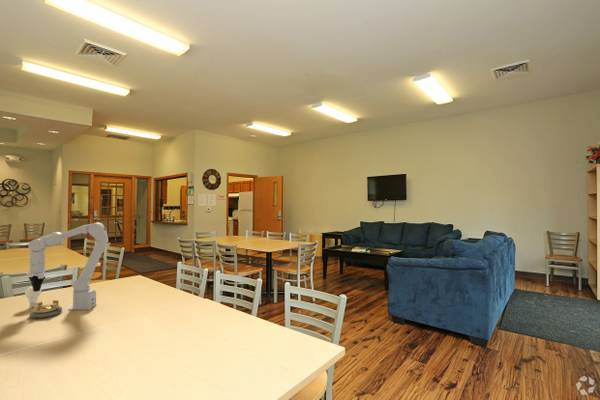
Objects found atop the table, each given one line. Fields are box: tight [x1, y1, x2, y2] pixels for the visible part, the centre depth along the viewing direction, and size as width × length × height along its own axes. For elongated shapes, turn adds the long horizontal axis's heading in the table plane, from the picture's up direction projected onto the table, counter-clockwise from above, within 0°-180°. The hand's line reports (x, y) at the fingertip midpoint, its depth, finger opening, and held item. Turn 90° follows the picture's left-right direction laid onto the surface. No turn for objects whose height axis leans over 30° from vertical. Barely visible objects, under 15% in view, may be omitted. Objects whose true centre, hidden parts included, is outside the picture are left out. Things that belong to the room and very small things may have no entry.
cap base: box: [29, 306, 63, 320], centre depth 147 cm, size 12×12×2 cm
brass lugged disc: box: [32, 299, 61, 314], centre depth 147 cm, size 10×10×3 cm
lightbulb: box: [24, 285, 42, 309], centre depth 156 cm, size 6×6×11 cm
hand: (36, 291), depth 149 cm, fingers closed
